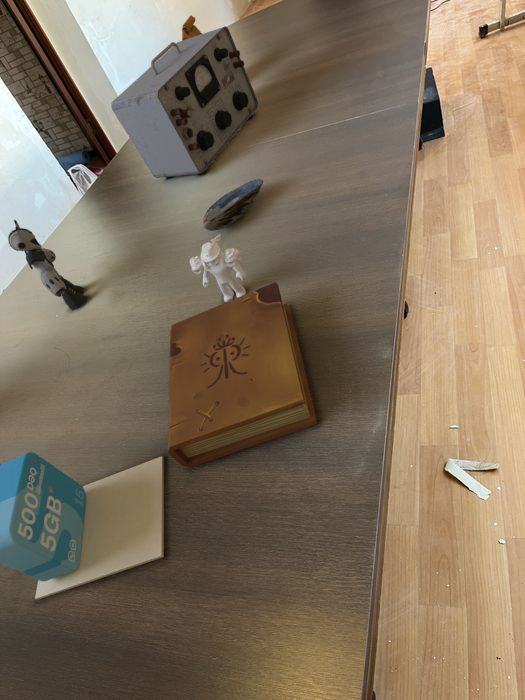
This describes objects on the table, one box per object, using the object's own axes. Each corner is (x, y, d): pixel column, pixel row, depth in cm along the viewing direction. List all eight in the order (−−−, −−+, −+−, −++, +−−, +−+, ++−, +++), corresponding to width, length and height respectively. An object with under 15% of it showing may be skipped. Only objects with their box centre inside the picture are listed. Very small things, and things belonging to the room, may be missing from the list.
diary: (185, 349, 81) (167, 326, 78) (289, 307, 78) (276, 281, 74) (185, 469, 65) (162, 448, 61) (317, 424, 61) (302, 398, 57)
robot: (61, 286, 115) (-3, 217, 101) (79, 274, 115) (17, 204, 102) (74, 327, 100) (1, 253, 87) (94, 313, 101) (24, 237, 87)
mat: (37, 600, 61) (34, 599, 61) (55, 498, 71) (53, 497, 71) (163, 557, 58) (161, 555, 58) (164, 457, 68) (162, 455, 68)
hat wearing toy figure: (260, 282, 85) (230, 227, 77) (256, 298, 83) (225, 243, 74) (214, 292, 89) (181, 240, 80) (210, 307, 86) (175, 256, 78)
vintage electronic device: (209, 179, 120) (154, 77, 103) (158, 184, 131) (101, 92, 114) (267, 108, 135) (227, 8, 118) (217, 118, 145) (174, 27, 128)
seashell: (262, 230, 96) (252, 209, 92) (206, 245, 100) (194, 226, 97) (272, 187, 105) (263, 166, 102) (220, 202, 110) (210, 183, 107)
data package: (79, 573, 61) (7, 538, 52) (49, 585, 61) (-27, 552, 53) (88, 488, 69) (27, 446, 61) (61, 499, 70) (-3, 459, 62)
